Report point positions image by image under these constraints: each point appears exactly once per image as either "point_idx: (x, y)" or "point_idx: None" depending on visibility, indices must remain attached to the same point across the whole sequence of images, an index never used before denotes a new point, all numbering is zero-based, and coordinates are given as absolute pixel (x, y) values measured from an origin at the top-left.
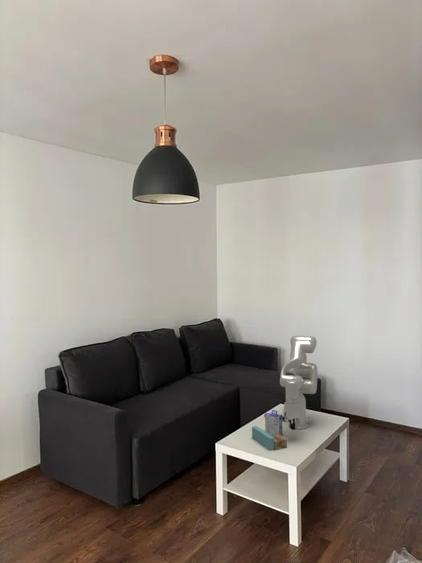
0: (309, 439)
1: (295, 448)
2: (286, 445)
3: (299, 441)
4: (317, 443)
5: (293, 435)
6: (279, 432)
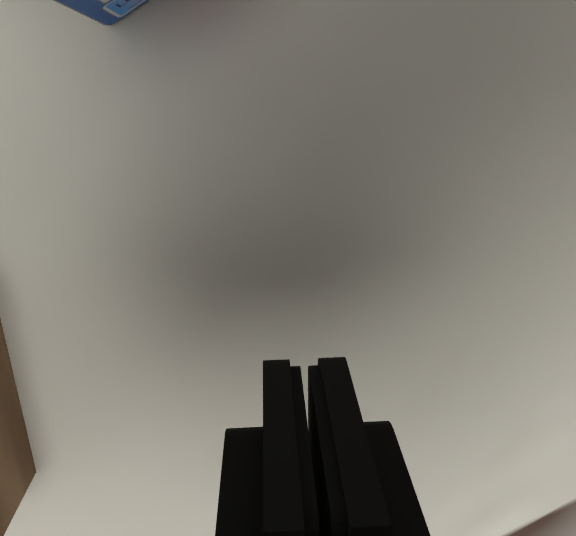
0: (543, 365)
1: (148, 531)
2: (14, 497)
3: (353, 369)
4: (530, 504)
5: (432, 106)
6: (97, 7)
